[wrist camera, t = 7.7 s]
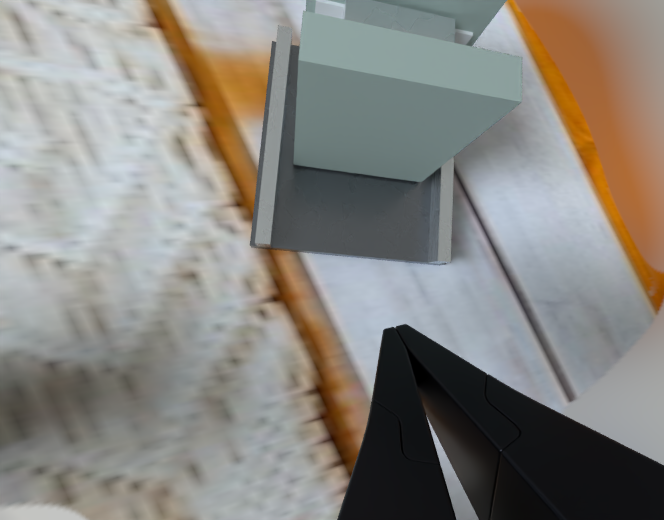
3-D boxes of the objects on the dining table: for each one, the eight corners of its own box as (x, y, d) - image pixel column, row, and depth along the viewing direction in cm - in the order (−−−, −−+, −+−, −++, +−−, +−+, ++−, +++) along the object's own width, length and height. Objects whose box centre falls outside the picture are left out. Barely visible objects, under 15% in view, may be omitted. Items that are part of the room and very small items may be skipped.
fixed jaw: (422, 113, 24) (517, -11, 14) (300, 91, 22) (310, -62, 13) (423, 84, 24) (517, -56, 14) (303, 62, 23) (315, -111, 13)
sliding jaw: (421, 182, 23) (521, 102, 13) (293, 164, 22) (298, 60, 12) (422, 152, 23) (521, 51, 13) (296, 132, 22) (303, 4, 12)
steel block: (397, 149, 23) (453, 78, 15) (322, 138, 22) (341, 57, 14) (399, 109, 24) (455, 18, 16) (326, 96, 23) (346, -6, 15)
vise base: (439, 265, 24) (456, 262, 21) (251, 247, 22) (247, 242, 19) (446, 84, 26) (462, 62, 23) (272, 51, 24) (271, 23, 21)
